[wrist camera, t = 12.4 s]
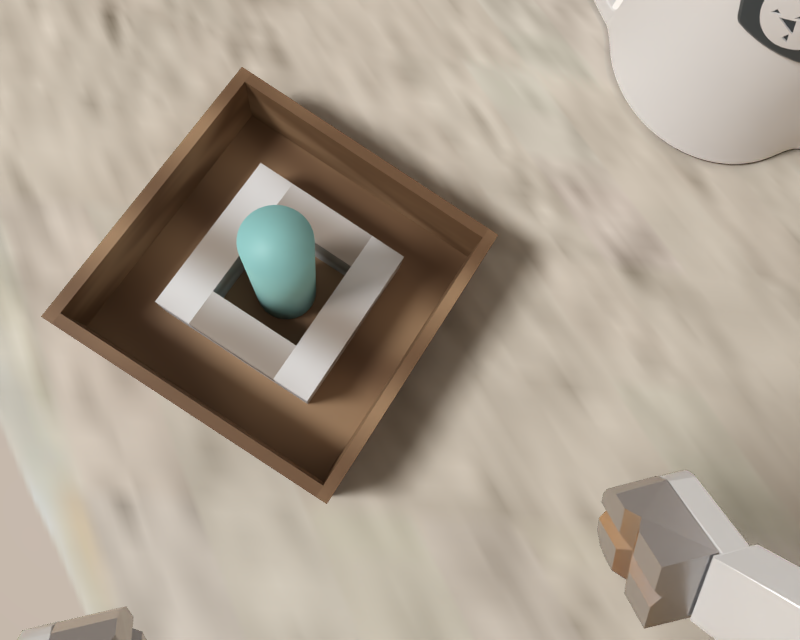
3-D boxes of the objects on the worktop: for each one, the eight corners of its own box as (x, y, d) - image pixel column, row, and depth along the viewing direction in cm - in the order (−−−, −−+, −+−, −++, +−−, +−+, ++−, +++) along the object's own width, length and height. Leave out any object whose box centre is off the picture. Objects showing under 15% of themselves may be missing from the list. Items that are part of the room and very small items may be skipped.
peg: (279, 251, 36) (265, 190, 27) (327, 283, 36) (329, 232, 27) (245, 298, 36) (220, 250, 27) (294, 330, 36) (285, 293, 27)
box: (250, 105, 38) (241, 66, 34) (480, 256, 38) (498, 234, 34) (72, 330, 35) (41, 316, 31) (325, 497, 35) (326, 503, 31)
